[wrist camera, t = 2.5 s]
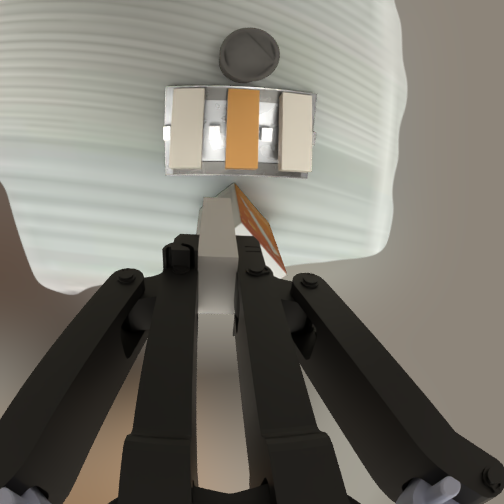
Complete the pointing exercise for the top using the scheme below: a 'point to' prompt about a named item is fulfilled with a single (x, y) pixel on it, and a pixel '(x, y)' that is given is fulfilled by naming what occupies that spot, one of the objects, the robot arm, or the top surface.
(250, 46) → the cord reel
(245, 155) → the paddle mid
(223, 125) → the plate
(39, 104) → the top surface
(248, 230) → the small box
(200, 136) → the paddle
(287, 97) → the beige rectangular tile
